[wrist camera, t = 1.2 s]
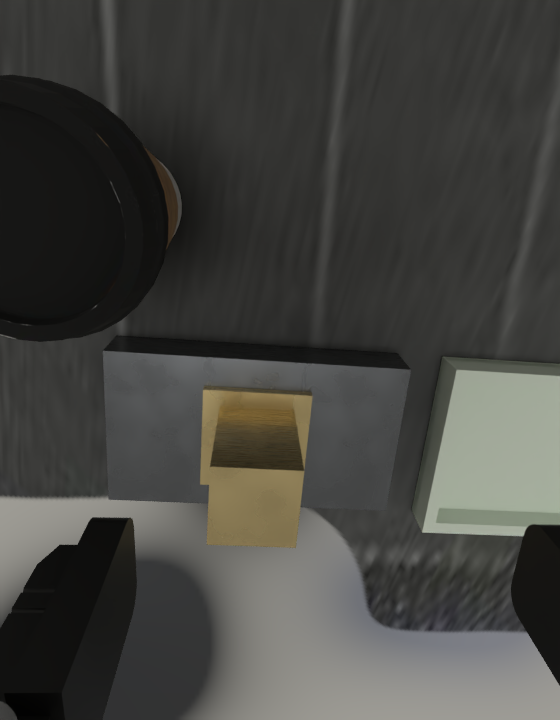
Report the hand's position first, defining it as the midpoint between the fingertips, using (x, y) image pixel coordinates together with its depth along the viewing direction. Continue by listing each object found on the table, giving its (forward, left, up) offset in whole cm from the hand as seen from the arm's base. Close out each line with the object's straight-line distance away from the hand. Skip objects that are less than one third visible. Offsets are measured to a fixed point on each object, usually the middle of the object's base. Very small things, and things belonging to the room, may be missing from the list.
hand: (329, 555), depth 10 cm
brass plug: (+8, -1, -22) cm, 23 cm away
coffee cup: (-5, -9, -22) cm, 25 cm away
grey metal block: (+8, -1, -22) cm, 23 cm away
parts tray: (+9, +17, -22) cm, 29 cm away
